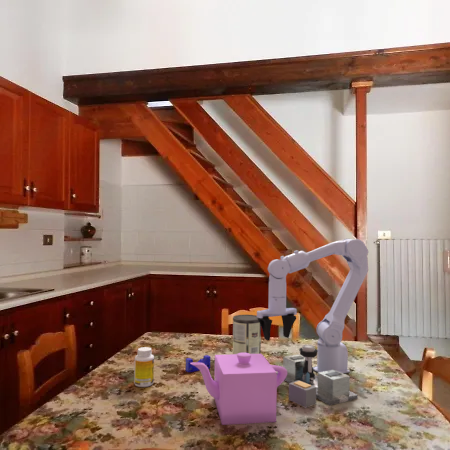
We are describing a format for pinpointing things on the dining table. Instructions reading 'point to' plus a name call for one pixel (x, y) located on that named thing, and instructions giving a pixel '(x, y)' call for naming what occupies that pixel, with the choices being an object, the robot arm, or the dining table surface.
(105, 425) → the dining table surface
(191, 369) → the cable holder
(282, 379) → the teapot
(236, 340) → the coffee can
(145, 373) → the supplement bottle
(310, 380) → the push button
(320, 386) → the rail plate
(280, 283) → the robot arm
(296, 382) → the block
